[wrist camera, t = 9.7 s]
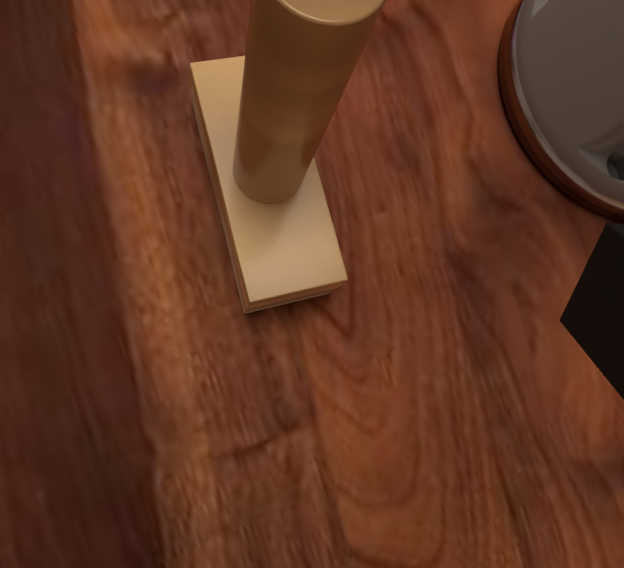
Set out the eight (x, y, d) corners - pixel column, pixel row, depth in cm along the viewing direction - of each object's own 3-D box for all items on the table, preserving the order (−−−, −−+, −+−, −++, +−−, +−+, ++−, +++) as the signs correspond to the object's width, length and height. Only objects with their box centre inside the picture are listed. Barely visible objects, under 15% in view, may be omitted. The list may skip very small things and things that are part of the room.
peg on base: (330, 293, 25) (487, 175, 11) (243, 314, 24) (293, 214, 10) (275, 91, 26) (353, -247, 12) (192, 103, 25) (171, -246, 11)
